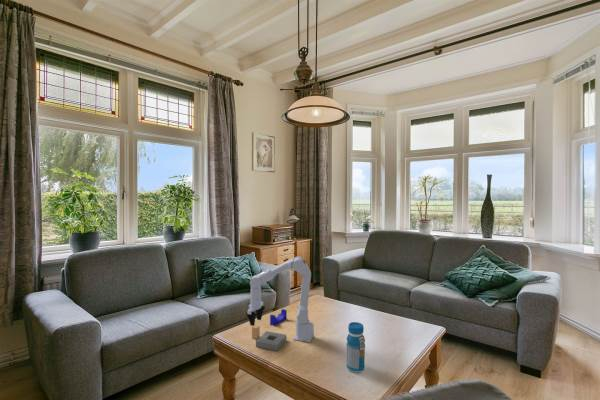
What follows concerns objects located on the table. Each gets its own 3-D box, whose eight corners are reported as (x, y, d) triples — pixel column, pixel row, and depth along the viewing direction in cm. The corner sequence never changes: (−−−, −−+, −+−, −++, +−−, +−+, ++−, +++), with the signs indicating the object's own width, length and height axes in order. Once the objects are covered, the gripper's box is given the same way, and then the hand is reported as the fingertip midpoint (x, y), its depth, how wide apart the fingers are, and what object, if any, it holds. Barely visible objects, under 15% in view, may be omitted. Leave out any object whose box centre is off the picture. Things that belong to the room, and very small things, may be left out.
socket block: (286, 340, 168) (286, 334, 168) (276, 351, 157) (276, 345, 157) (266, 336, 172) (266, 331, 172) (255, 346, 161) (255, 340, 161)
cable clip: (281, 317, 198) (281, 308, 198) (286, 319, 195) (286, 310, 195) (268, 324, 188) (268, 314, 188) (273, 326, 186) (273, 316, 185)
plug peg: (259, 336, 172) (259, 325, 172) (256, 339, 169) (256, 328, 169) (254, 335, 173) (254, 325, 173) (252, 338, 170) (252, 327, 170)
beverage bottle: (347, 373, 138) (348, 329, 137) (344, 362, 147) (345, 320, 146) (366, 373, 138) (367, 329, 137) (362, 362, 147) (363, 321, 146)
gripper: (255, 292, 179) (255, 316, 179) (242, 301, 165) (242, 326, 166) (266, 294, 176) (266, 318, 177) (254, 303, 163) (254, 328, 163)
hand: (255, 322), depth 171 cm, fingers open, 7 cm apart
